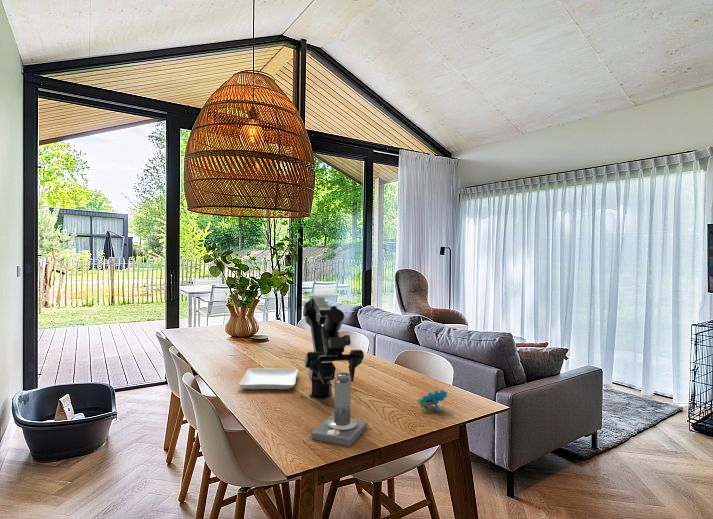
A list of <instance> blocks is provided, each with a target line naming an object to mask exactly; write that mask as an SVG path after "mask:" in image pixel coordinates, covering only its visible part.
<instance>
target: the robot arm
mask: <svg viewBox="0 0 713 519" xmlns="http://www.w3.org/2000/svg"><path fill="white" fill-rule="evenodd" d="M303 305H304V306H303V310H302V313H303V317H304V319H305V323H306V324H307V325H308V326H310V333H311V341H312V347H313V351H307V353H306V354H305V360H304V367H305V368H307V369H308V368H309V372H308V377H309V378H308V379H309V380H310V382H311V394H310V395H309V397H310V398H315V399H321V400H326V399H328V398H329V397H330V396H332V395H333V393H332V392H333V391H332V387H333V385H332V382H331V381H335V374H336V369H337V368H336V367H335V363H333V362H342V361H343V362H344V361H346V362H347V361H348V364H349V365H348V372H349V373H348V374H350V377H349V380H351V383H353V382H354V379H355V372H356V368H358V367H359V365H361V364H362V362H363V360H364V358H365V354H364V351H363V350H362V349H351V350H350V352H349V354H348V353H346V354H344V352H345V348H346V346H347V347H348V346H350V345H351V344H352V343H351V342H352V341H351V337H350V334H344V335H343V336H340V330H341V327H342V325H343V322H344V318H345V314H344V313H343V311H342V310H341V309H339V308H338V307H337V305H333V306H332V305H330V306H329V304H328V303H327V302H326V300H325V297H324V296H312V297H310V300H309V301H307V302H305V303H304V304H303Z"/></svg>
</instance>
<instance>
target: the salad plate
mask: <svg viewBox="0 0 713 519" xmlns="http://www.w3.org/2000/svg"><path fill="white" fill-rule="evenodd" d="M298 372H299V370H298V369H297V368H276V367H273V368H271V367H270V368H268V367H267V368H266V367H264V368H258V367H257V368H256V367H255V368H254V367H253V368H250V367H249V368H248V369H247V371H246V372H245V374H244V376H243V377H242V379H241V380H240V381H239V383H238V386H240V387H241V388H242V389H244V390H259V389H279V390H289V389H292V388H294V387H295V385H296V382H297V381H296V380H297V375H298Z"/></svg>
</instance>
